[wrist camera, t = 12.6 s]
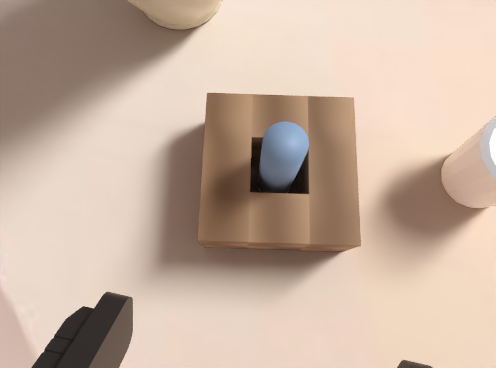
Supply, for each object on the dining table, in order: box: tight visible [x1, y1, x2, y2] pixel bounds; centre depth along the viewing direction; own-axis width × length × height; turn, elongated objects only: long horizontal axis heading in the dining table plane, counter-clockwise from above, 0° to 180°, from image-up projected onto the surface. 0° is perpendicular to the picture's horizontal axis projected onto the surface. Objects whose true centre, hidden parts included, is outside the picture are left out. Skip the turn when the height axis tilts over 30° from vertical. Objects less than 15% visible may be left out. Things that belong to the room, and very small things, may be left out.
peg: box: [258, 122, 309, 193], centre depth 29 cm, size 3×3×10 cm
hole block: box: [197, 93, 361, 252], centre depth 31 cm, size 12×12×5 cm
